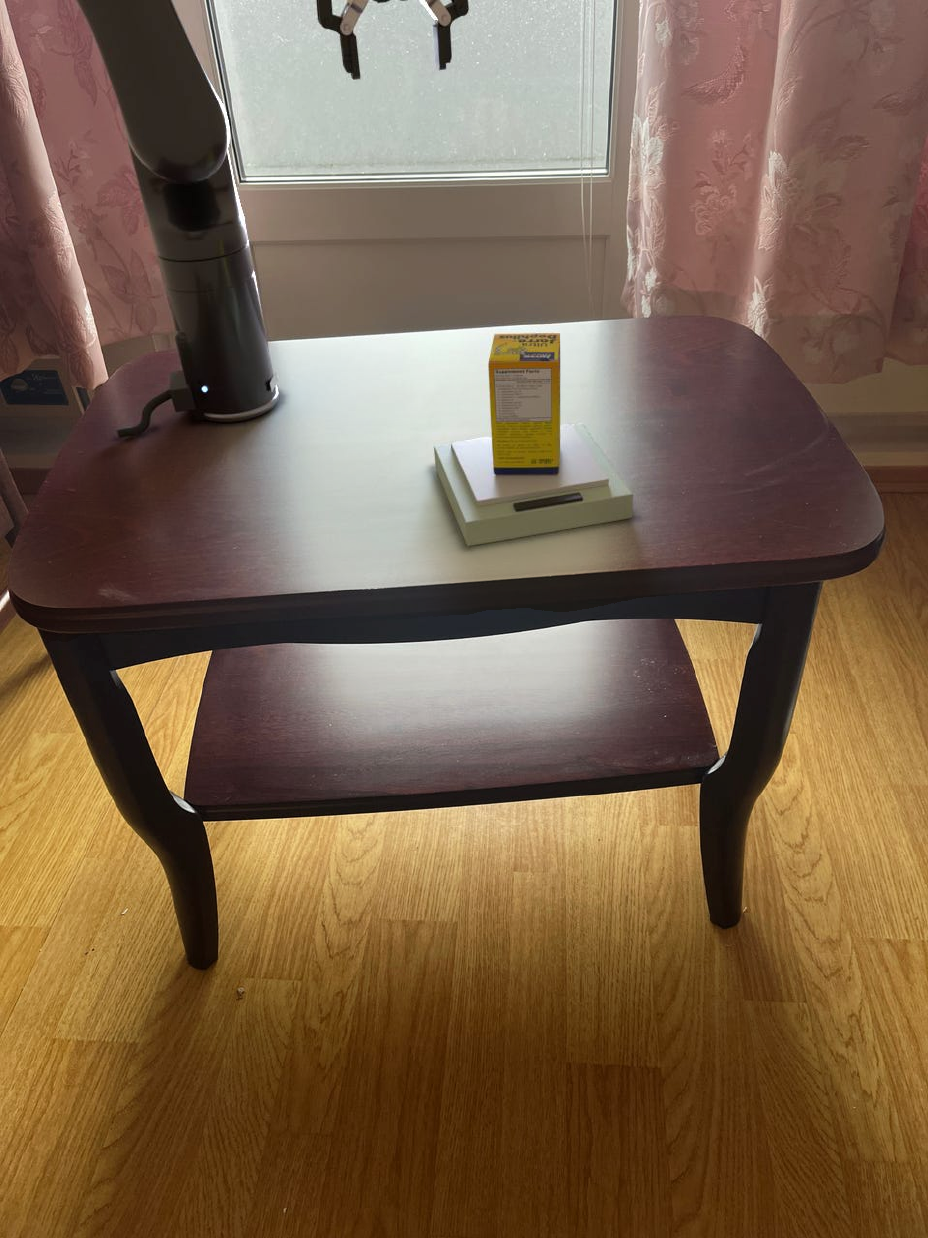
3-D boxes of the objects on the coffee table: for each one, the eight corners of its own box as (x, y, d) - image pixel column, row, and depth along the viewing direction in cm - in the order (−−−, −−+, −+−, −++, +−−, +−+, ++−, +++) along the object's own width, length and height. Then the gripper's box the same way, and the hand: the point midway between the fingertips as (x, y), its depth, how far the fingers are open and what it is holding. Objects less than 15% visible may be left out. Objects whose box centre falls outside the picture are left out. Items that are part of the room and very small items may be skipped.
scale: (467, 546, 82) (465, 516, 80) (435, 468, 93) (433, 440, 91) (631, 518, 84) (633, 488, 82) (582, 445, 95) (582, 417, 93)
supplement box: (560, 443, 89) (561, 330, 82) (559, 475, 85) (560, 359, 78) (497, 443, 90) (493, 331, 83) (492, 475, 85) (487, 360, 78)
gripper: (450, -142, 87) (460, 61, 98) (296, -131, 85) (322, 74, 96) (468, -142, 82) (477, 72, 92) (303, -131, 80) (331, 87, 90)
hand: (398, 73), depth 94 cm, fingers open, 8 cm apart
